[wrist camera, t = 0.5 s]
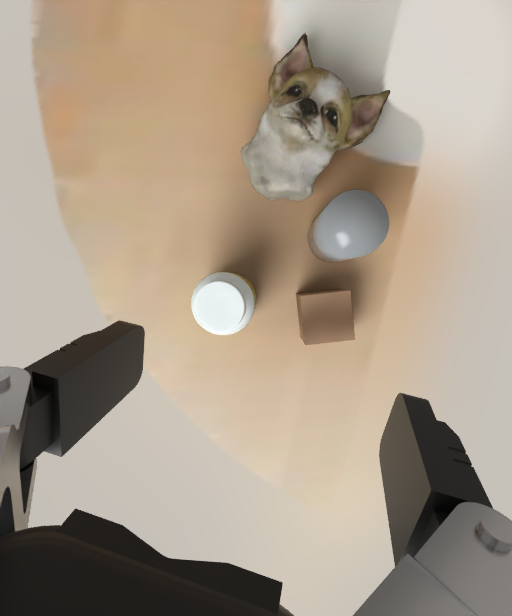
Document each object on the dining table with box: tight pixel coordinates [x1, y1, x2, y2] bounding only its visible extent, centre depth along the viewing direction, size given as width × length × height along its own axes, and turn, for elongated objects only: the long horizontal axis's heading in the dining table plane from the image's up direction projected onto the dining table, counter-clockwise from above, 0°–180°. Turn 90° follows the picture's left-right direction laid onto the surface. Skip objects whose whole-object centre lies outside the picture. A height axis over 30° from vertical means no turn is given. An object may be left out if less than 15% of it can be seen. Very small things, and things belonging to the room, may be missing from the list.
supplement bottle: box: [191, 272, 256, 335], centre depth 31 cm, size 5×5×10 cm
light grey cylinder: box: [308, 190, 389, 262], centre depth 31 cm, size 5×5×9 cm
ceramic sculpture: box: [240, 33, 390, 201], centre depth 31 cm, size 11×9×15 cm
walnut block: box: [296, 289, 355, 345], centre depth 34 cm, size 4×4×4 cm
